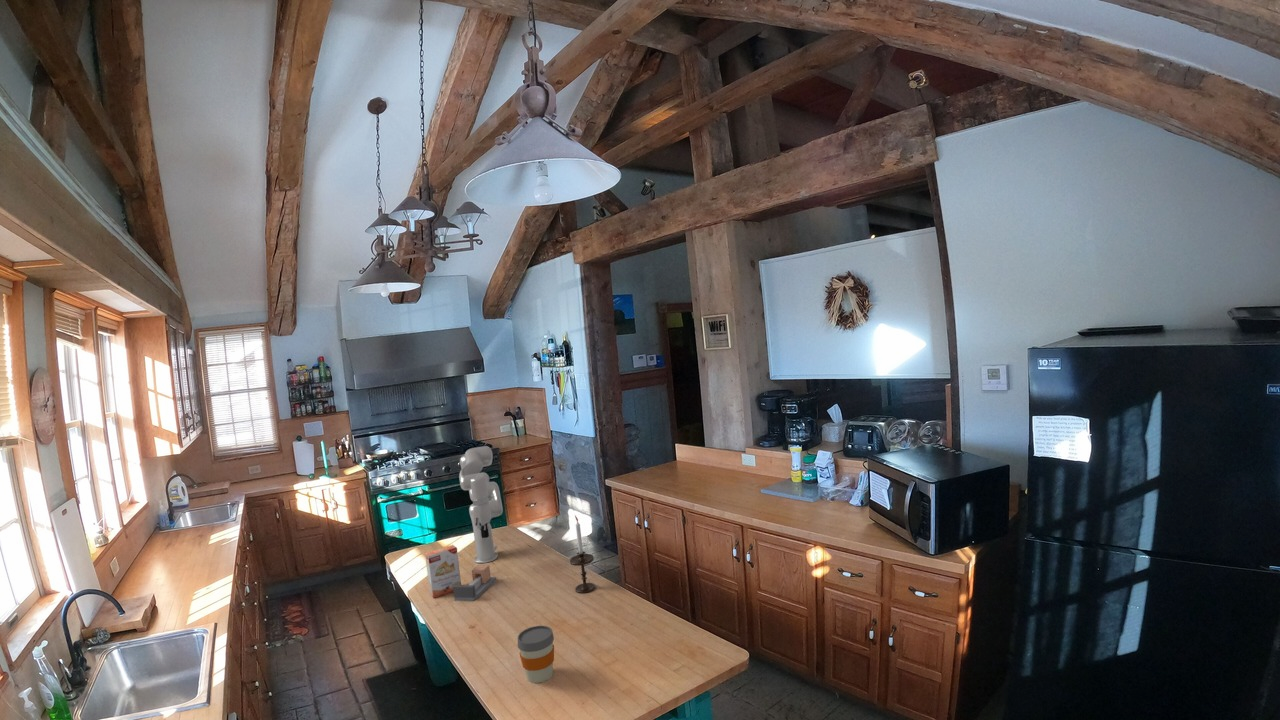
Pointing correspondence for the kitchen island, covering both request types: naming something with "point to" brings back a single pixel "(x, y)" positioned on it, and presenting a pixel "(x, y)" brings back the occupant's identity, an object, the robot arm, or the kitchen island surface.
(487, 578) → the slider
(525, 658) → the reusable coffee cup
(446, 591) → the cracker box
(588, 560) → the candlestick
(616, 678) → the kitchen island surface
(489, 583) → the track
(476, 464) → the robot arm
